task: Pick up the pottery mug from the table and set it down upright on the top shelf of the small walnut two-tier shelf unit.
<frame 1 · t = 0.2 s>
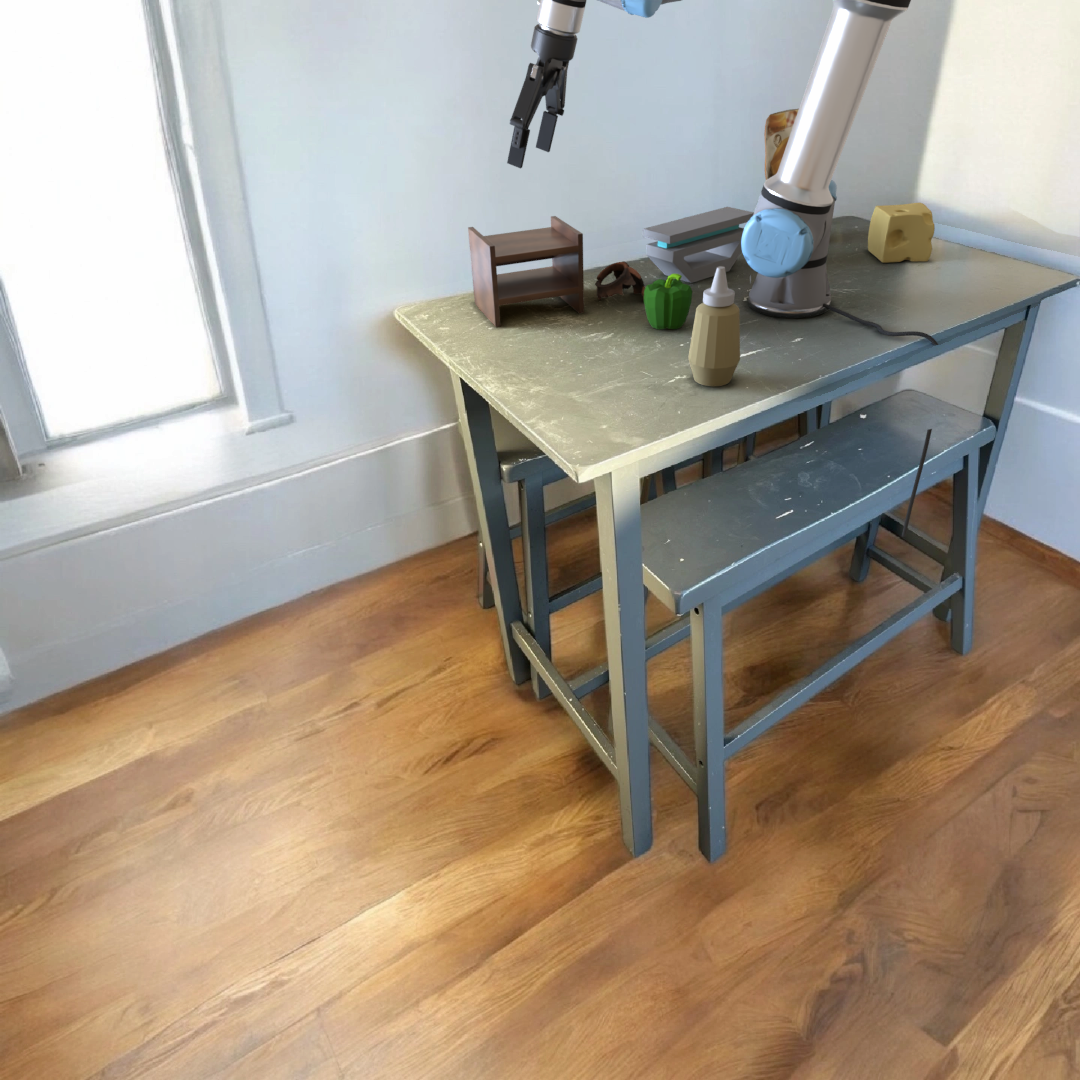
hand: (529, 157, 157), 27 cm above the table, tool tilted 20°, fingers open, 13 cm apart
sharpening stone: (696, 273, 183), on the table
bell pepper: (666, 327, 158), on the table
pancake mix bag: (782, 242, 200), on the table
cheese: (896, 257, 187), on the table
shelf: (528, 308, 169), on the table
pottery mug: (622, 299, 172), on the table
squeeze bottle: (712, 381, 137), on the table
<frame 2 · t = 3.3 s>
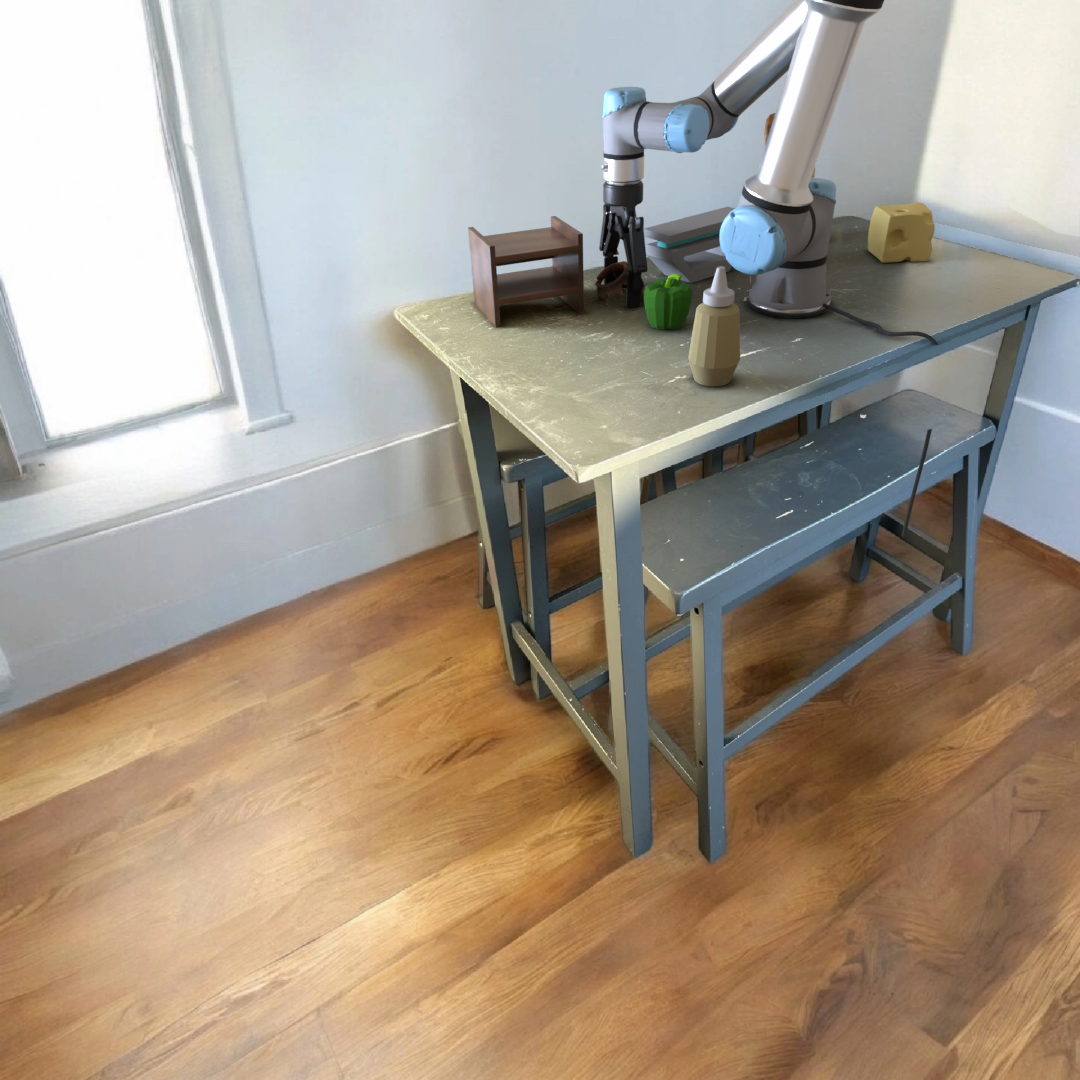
hand: (621, 297, 171), 0 cm above the table, tool pointing down, fingers open, 11 cm apart
pottery mug: (622, 299, 172), on the table, touching gripper
everything else where it was.
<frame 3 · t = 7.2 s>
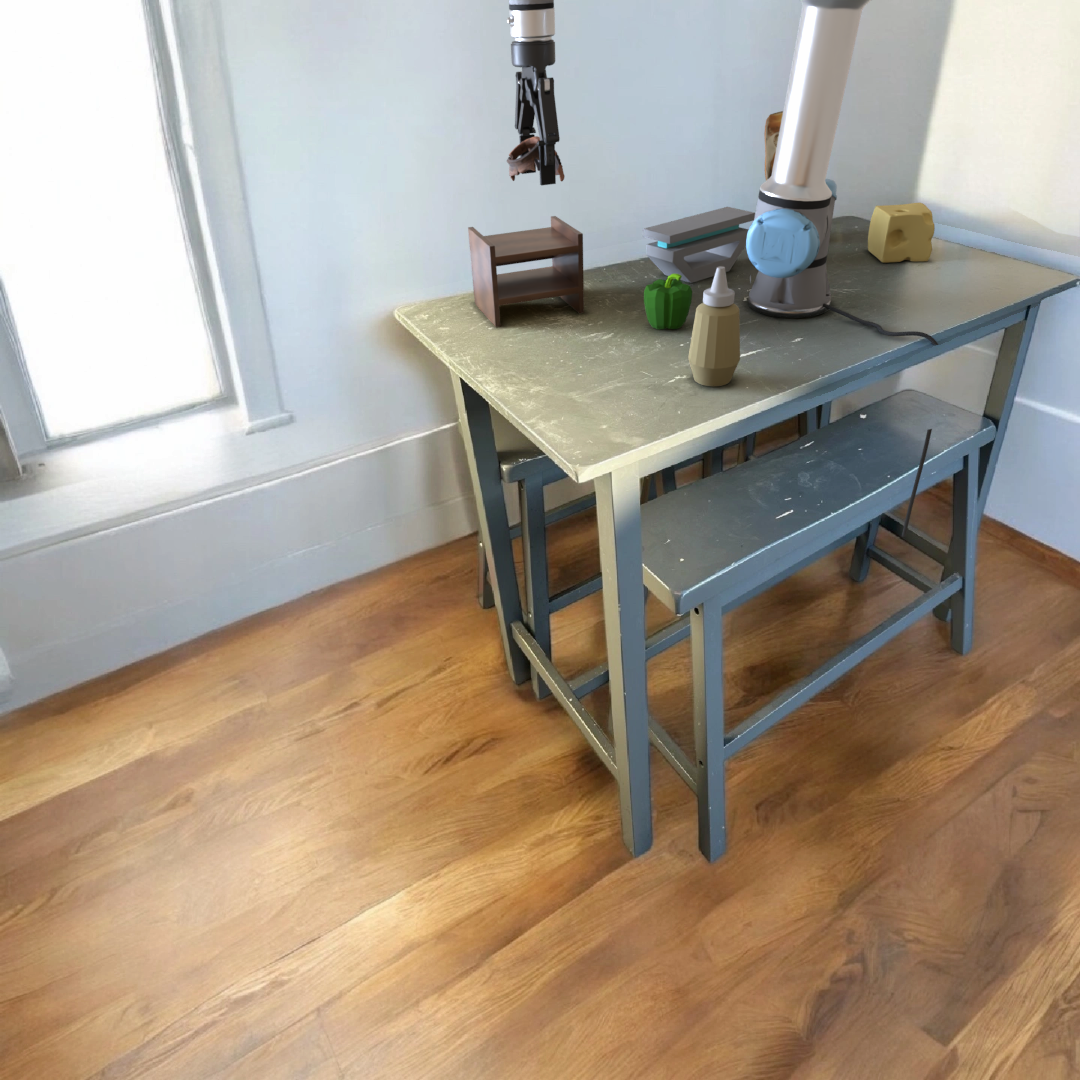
hand: (537, 178, 156), 24 cm above the table, tool pointing down, fingers closed on pottery mug, 10 cm apart
pottery mug: (538, 180, 157), point 24 cm above the table, touching gripper
everything else where it was.
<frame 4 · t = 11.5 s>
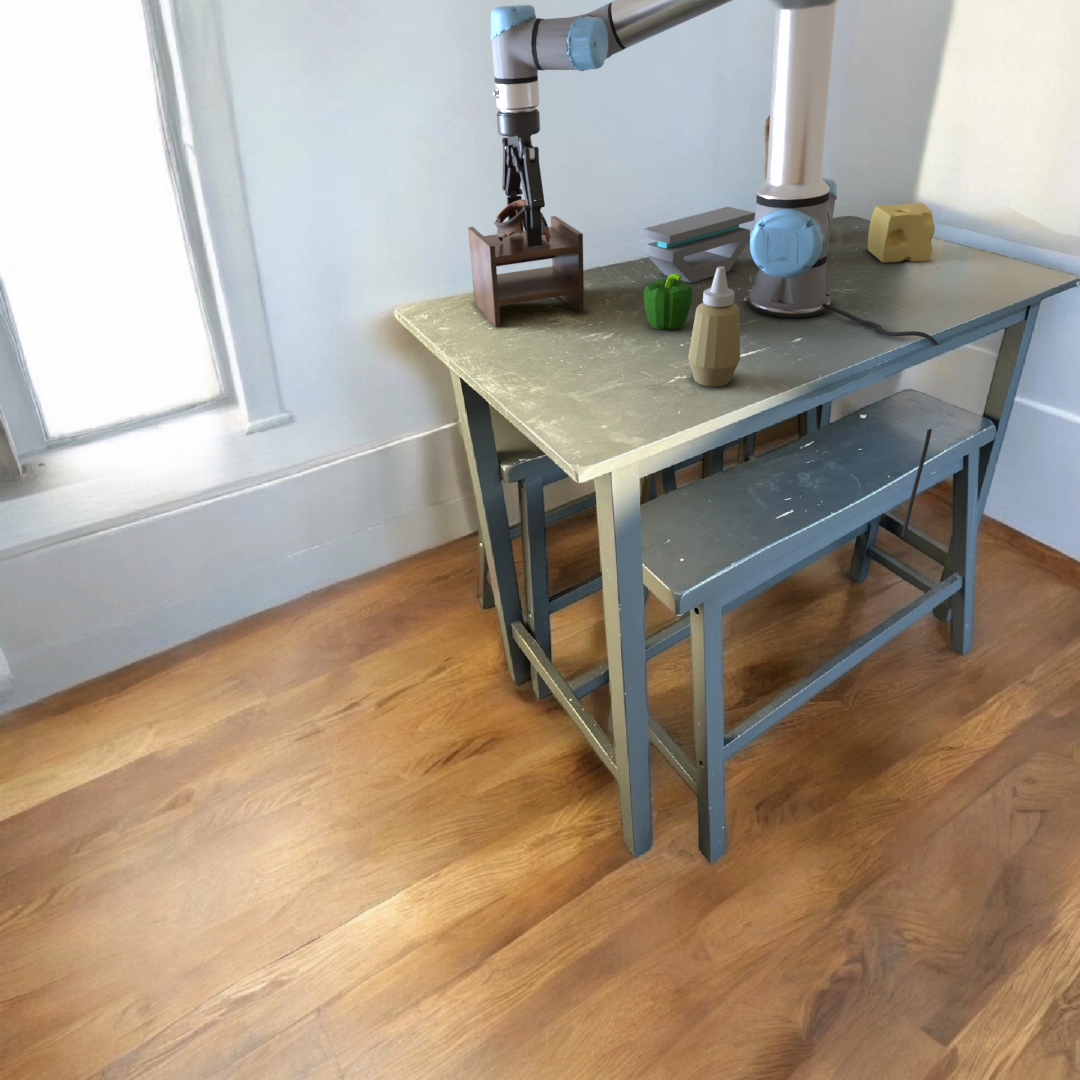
hand: (525, 238, 162), 13 cm above the table, tool pointing down, fingers closed on pottery mug, 10 cm apart
pottery mug: (525, 240, 162), point 13 cm above the table, touching gripper
everything else where it was.
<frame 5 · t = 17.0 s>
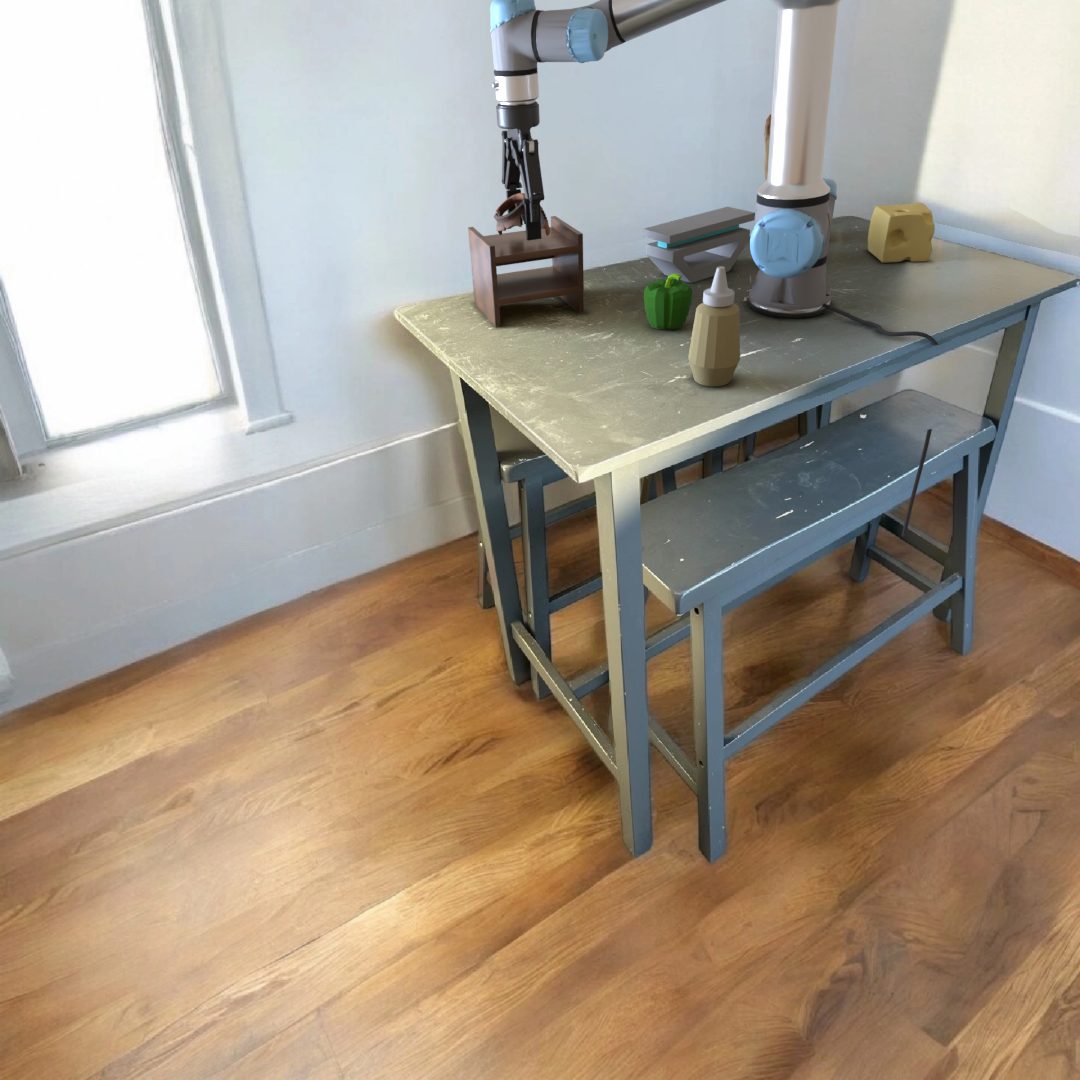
hand: (524, 232, 161), 15 cm above the table, tool pointing down, fingers closed on pottery mug, 10 cm apart
pottery mug: (524, 234, 161), point 14 cm above the table, touching gripper
everything else where it was.
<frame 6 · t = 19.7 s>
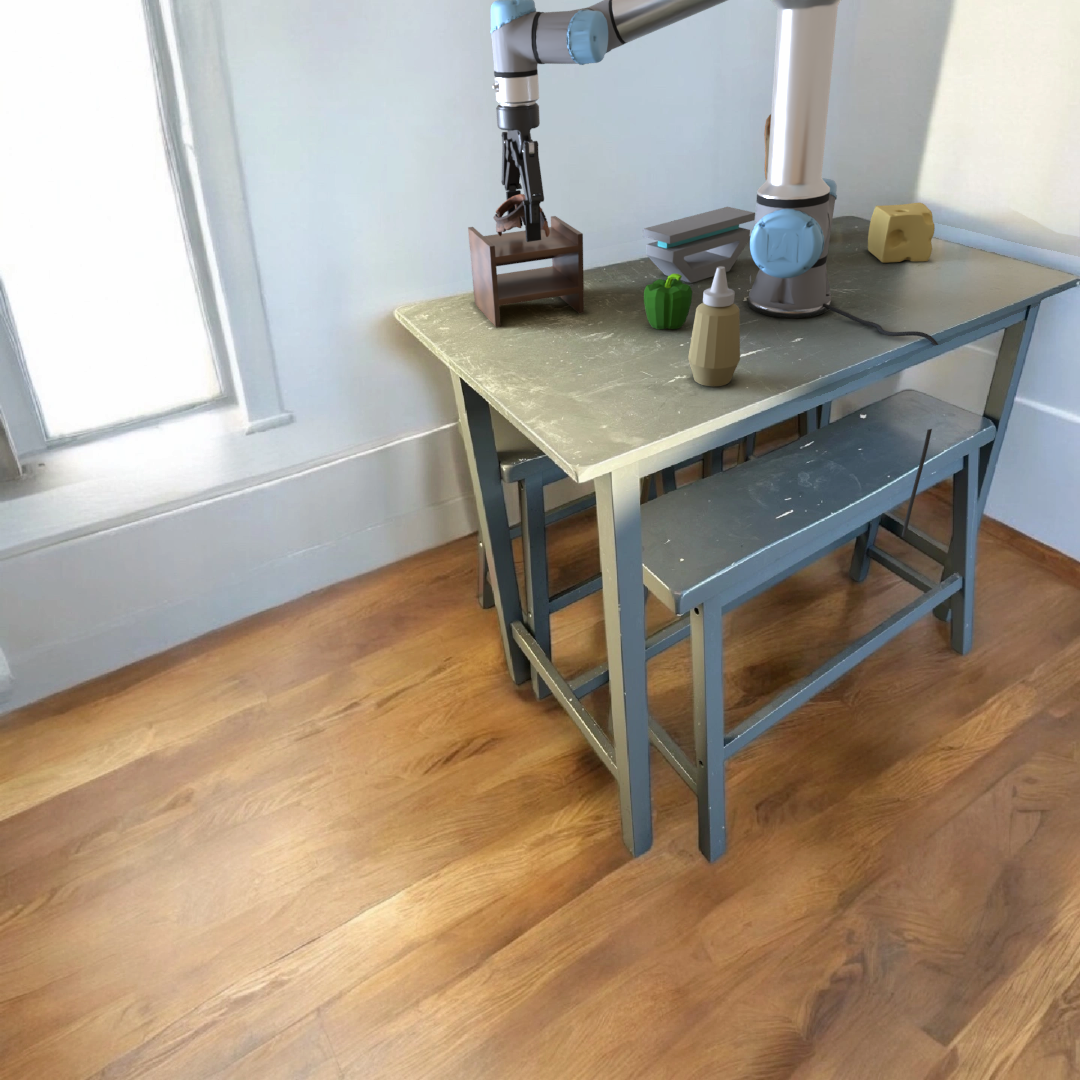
hand: (524, 233, 161), 14 cm above the table, tool pointing down, fingers closed on pottery mug, 10 cm apart
pottery mug: (524, 235, 161), point 14 cm above the table, touching gripper
everything else where it was.
when the fingers open (14 cm above the table, at t = 22.0 s): pottery mug drops 1 cm, resting on shelf.
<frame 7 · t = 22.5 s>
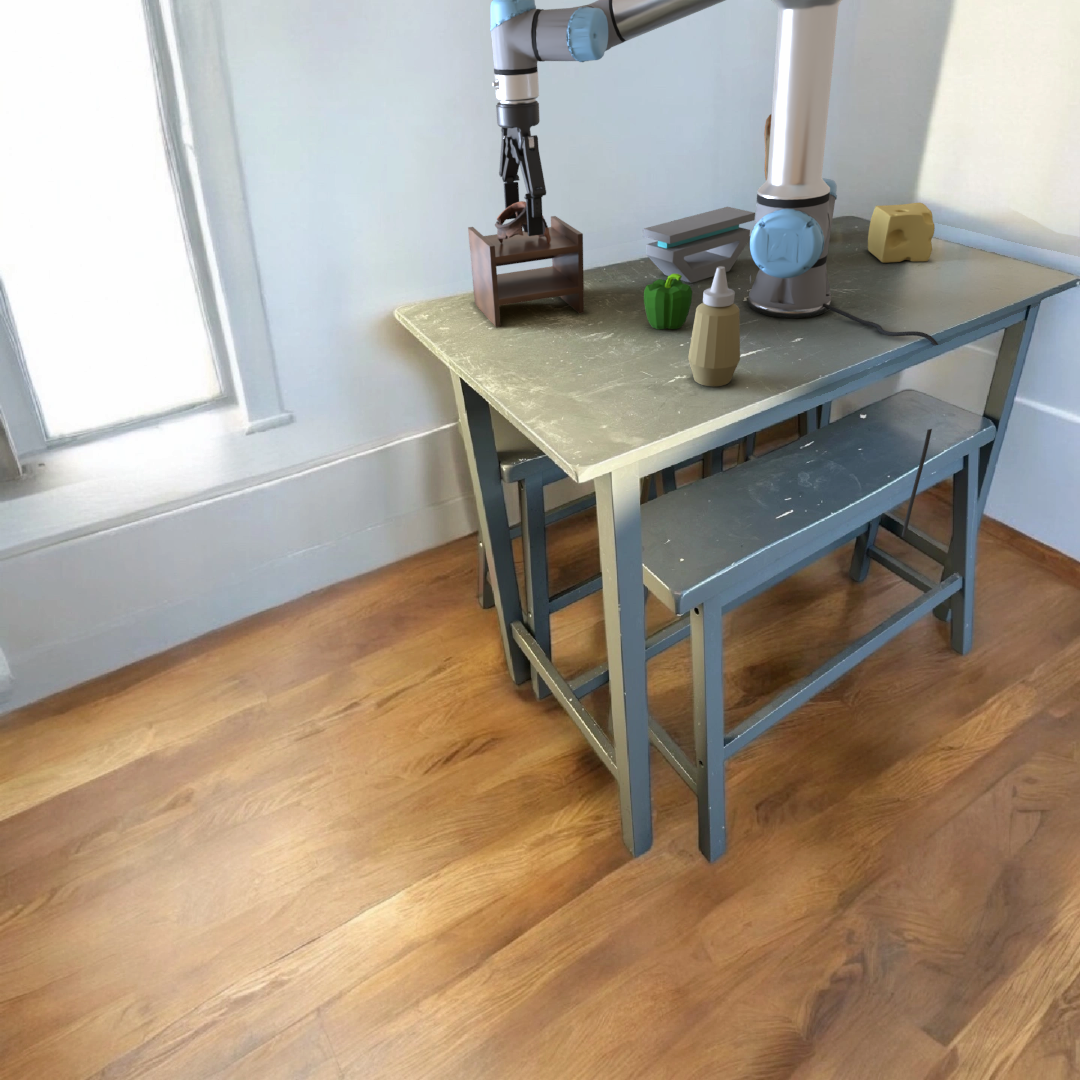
hand: (523, 226, 160), 16 cm above the table, tool pointing down, fingers open, 13 cm apart
pottery mug: (525, 242, 162), point 13 cm above the table, touching shelf
everything else where it was.
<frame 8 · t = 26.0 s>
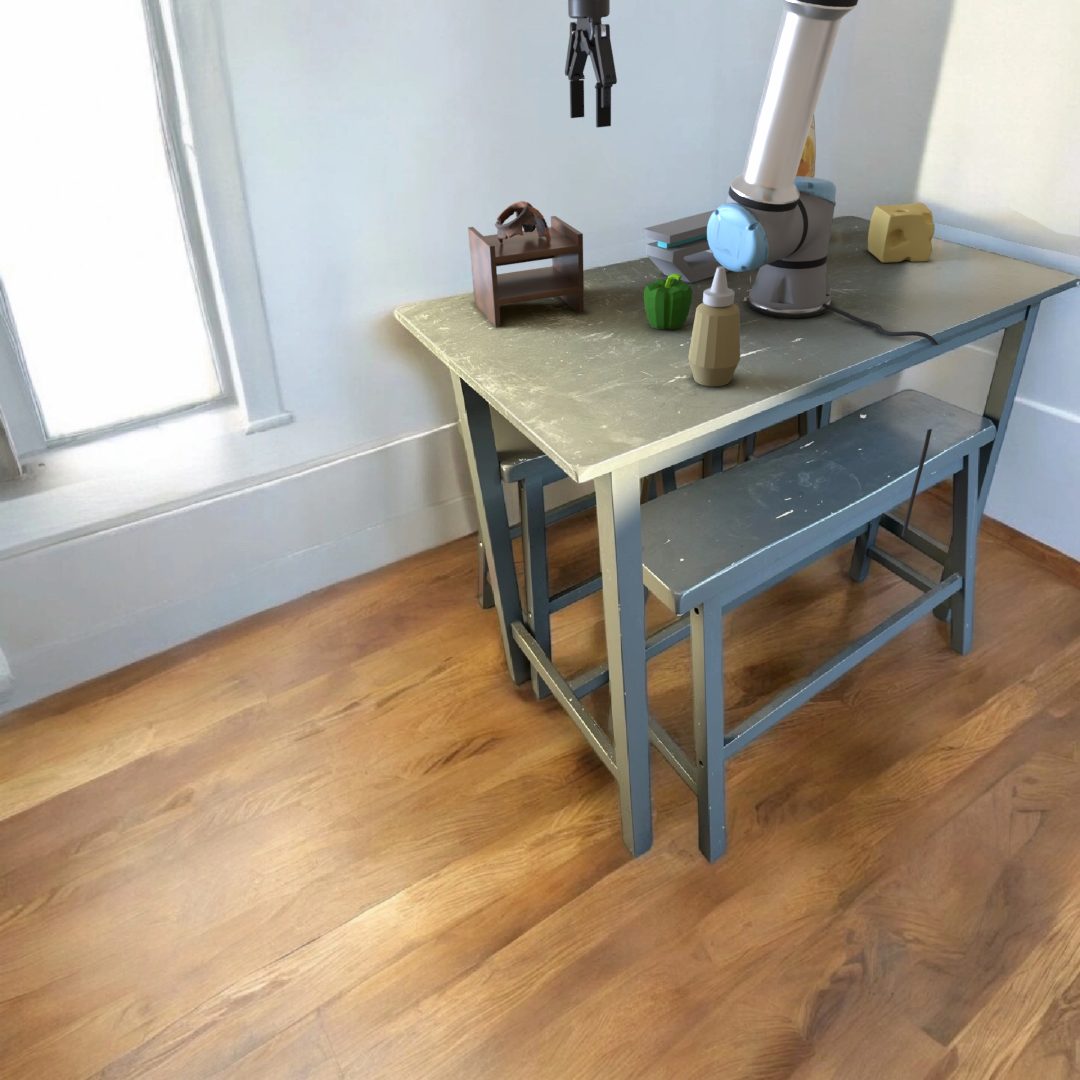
hand: (590, 122, 165), 31 cm above the table, tool pointing down, fingers open, 13 cm apart
nothing on the table moved.
at the end: pottery mug inside the target area on the shelf (0.2 cm from its centre), point 12.8 cm above the shelf's base; pottery mug tilted 1°; the gripper is holding nothing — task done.
